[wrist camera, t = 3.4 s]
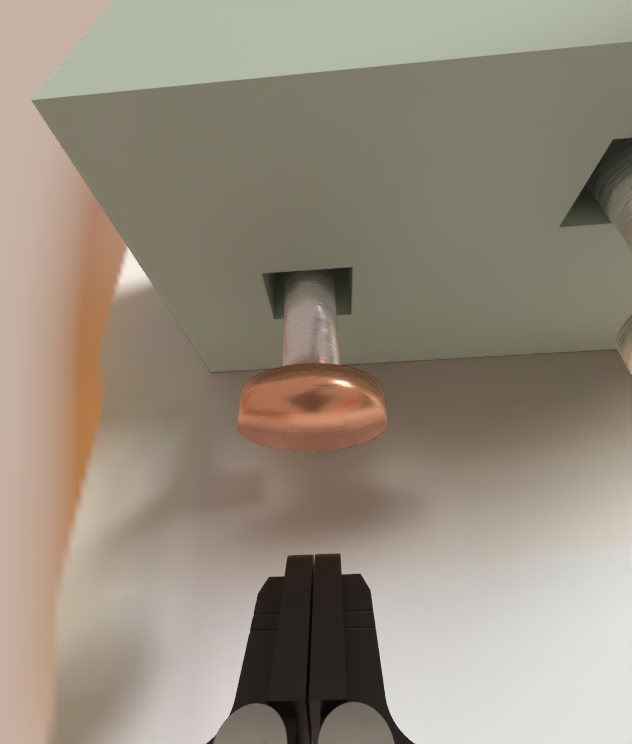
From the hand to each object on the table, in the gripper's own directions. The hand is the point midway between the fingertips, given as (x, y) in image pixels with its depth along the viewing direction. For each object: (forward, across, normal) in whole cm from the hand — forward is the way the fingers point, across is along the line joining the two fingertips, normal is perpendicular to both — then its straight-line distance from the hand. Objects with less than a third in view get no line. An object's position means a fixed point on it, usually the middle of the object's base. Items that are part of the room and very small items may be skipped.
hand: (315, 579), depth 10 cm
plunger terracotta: (+11, 0, -6) cm, 12 cm away
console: (+17, -6, -6) cm, 19 cm away
